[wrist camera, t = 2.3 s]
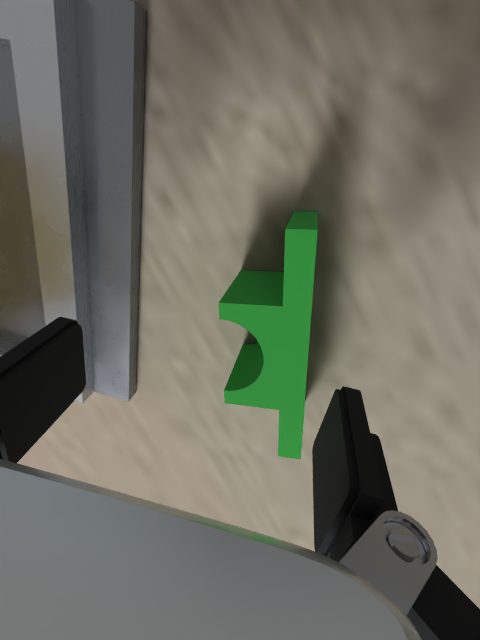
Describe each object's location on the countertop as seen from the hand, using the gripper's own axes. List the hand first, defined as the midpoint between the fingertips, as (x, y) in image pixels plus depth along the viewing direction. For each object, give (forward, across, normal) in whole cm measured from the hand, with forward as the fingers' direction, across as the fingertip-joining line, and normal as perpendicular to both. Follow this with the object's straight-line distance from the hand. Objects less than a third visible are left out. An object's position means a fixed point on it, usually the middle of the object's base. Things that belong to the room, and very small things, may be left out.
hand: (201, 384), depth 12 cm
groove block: (+8, +14, -2) cm, 16 cm away
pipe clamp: (+7, -2, 0) cm, 8 cm away
